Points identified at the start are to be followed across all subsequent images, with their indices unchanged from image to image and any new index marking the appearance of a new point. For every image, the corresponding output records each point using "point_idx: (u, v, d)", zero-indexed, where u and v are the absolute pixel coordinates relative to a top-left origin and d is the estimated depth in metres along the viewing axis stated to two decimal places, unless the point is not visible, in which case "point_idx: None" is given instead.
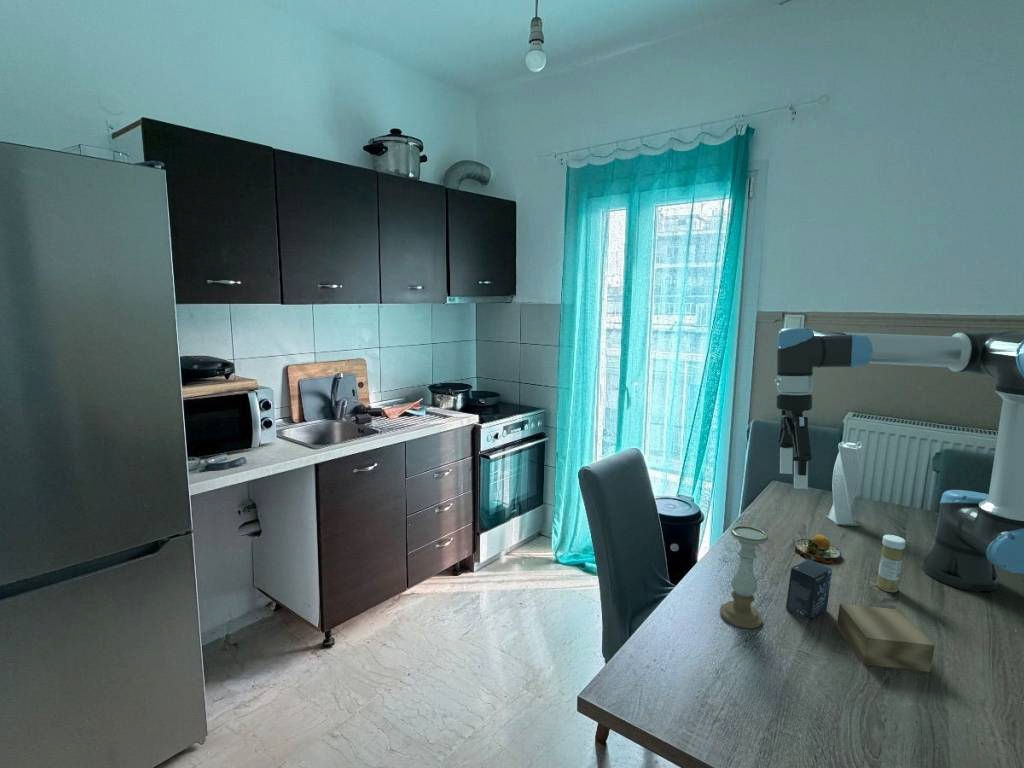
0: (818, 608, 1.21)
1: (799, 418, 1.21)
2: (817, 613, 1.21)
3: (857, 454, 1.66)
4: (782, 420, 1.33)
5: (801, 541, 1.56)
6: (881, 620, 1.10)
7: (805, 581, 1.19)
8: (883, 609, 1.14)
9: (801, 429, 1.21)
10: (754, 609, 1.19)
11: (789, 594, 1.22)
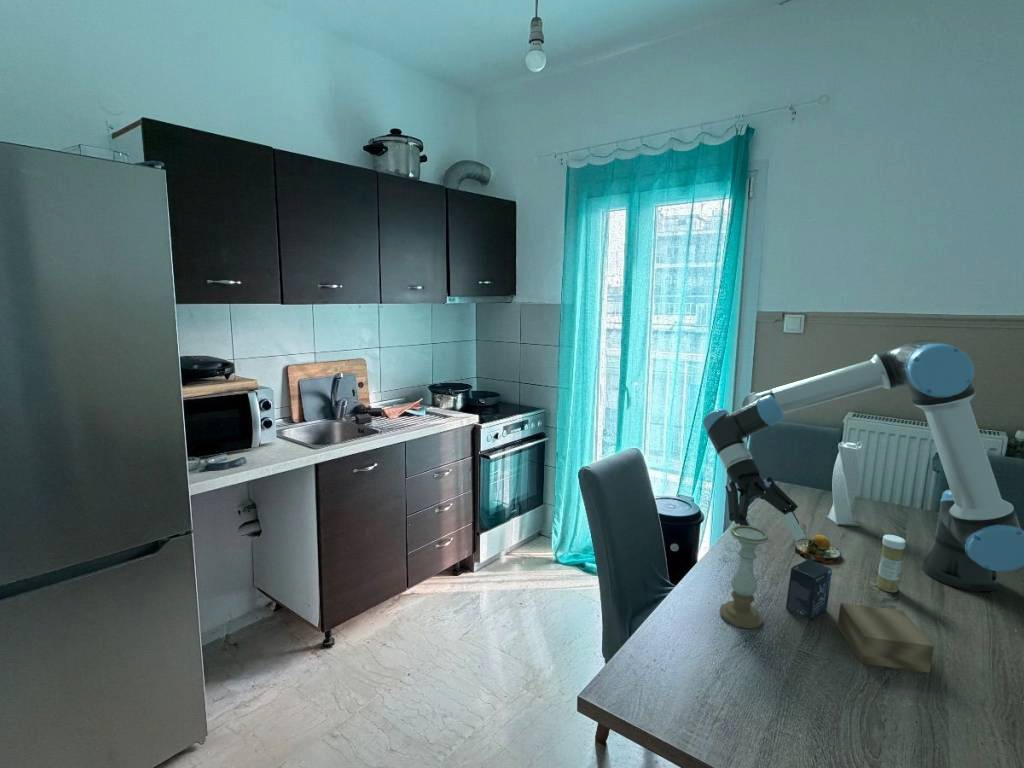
0: (818, 608, 1.21)
1: (727, 485, 1.36)
2: (817, 613, 1.21)
3: (857, 454, 1.66)
4: None
5: (801, 541, 1.56)
6: (881, 620, 1.10)
7: (805, 581, 1.19)
8: (884, 609, 1.14)
9: (730, 494, 1.34)
10: (754, 609, 1.19)
11: (789, 594, 1.22)
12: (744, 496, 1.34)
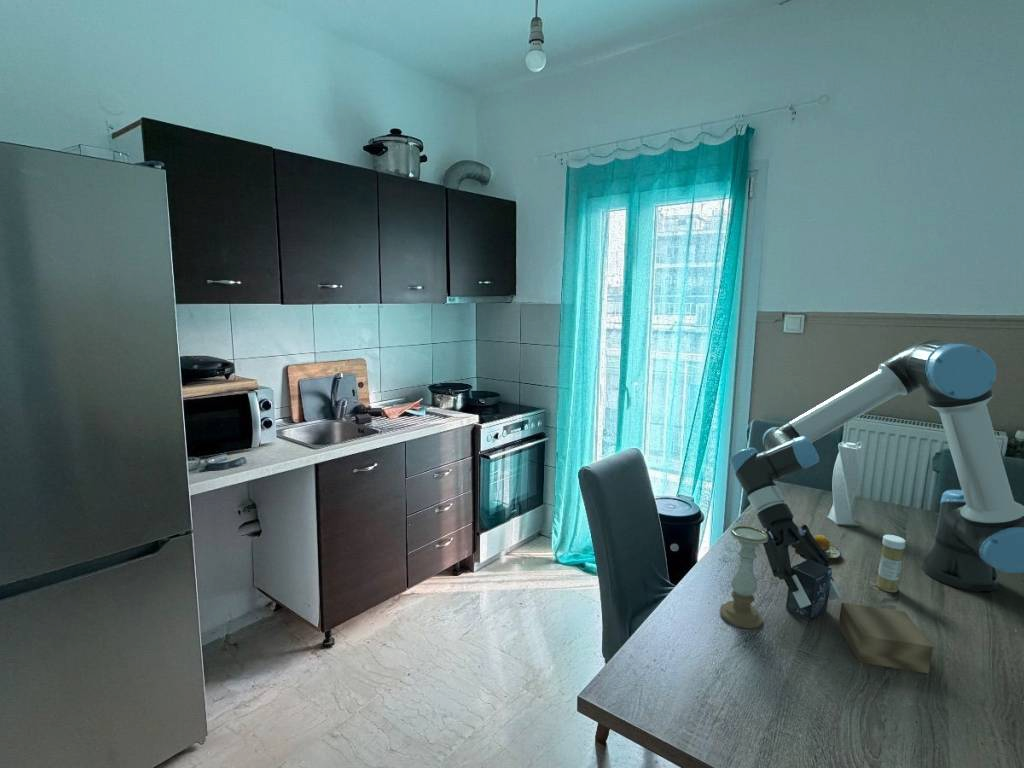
0: (818, 608, 1.21)
1: None
2: (817, 613, 1.21)
3: (857, 454, 1.66)
4: None
5: None
6: (881, 620, 1.10)
7: (805, 581, 1.19)
8: (886, 610, 1.14)
9: (767, 545, 1.25)
10: (754, 609, 1.19)
11: (789, 594, 1.22)
12: (782, 546, 1.25)
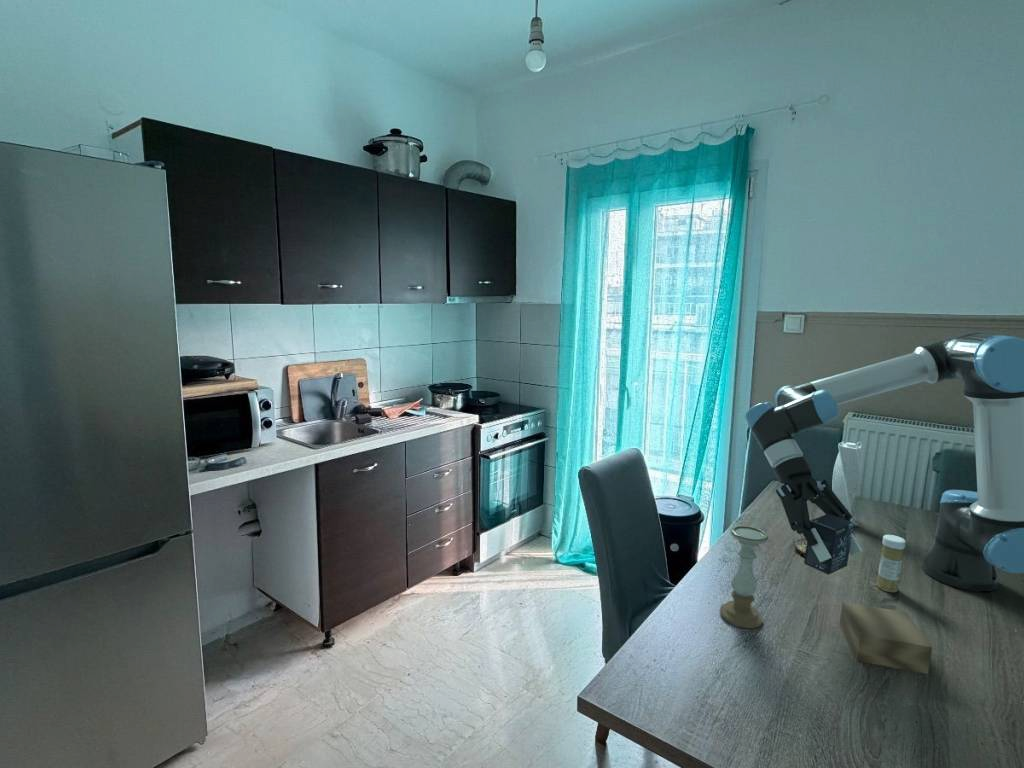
0: (838, 563, 1.15)
1: (778, 489, 1.21)
2: (837, 568, 1.16)
3: (857, 454, 1.66)
4: None
5: (801, 541, 1.56)
6: (881, 620, 1.10)
7: (824, 534, 1.14)
8: (887, 610, 1.14)
9: (784, 499, 1.20)
10: (754, 609, 1.19)
11: (808, 549, 1.17)
12: (800, 500, 1.20)
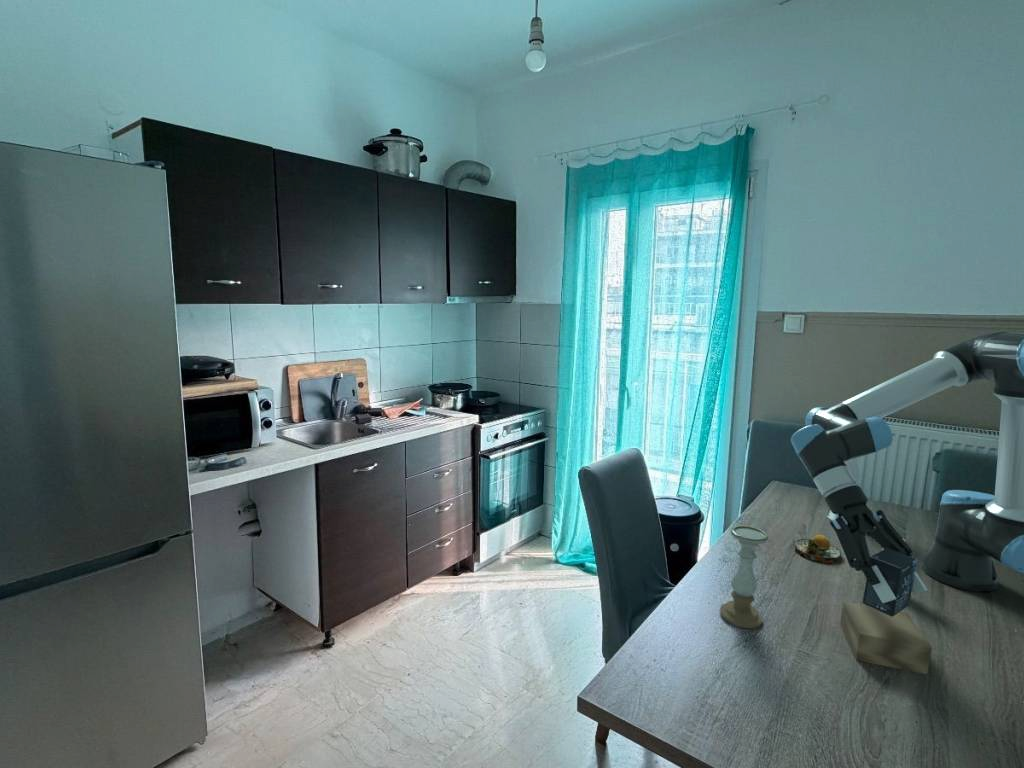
0: (901, 604, 1.06)
1: (832, 521, 1.12)
2: (900, 609, 1.06)
3: None
4: None
5: (801, 541, 1.56)
6: (881, 620, 1.10)
7: (887, 572, 1.04)
8: None
9: (840, 532, 1.10)
10: (754, 609, 1.19)
11: (867, 587, 1.08)
12: (857, 534, 1.10)
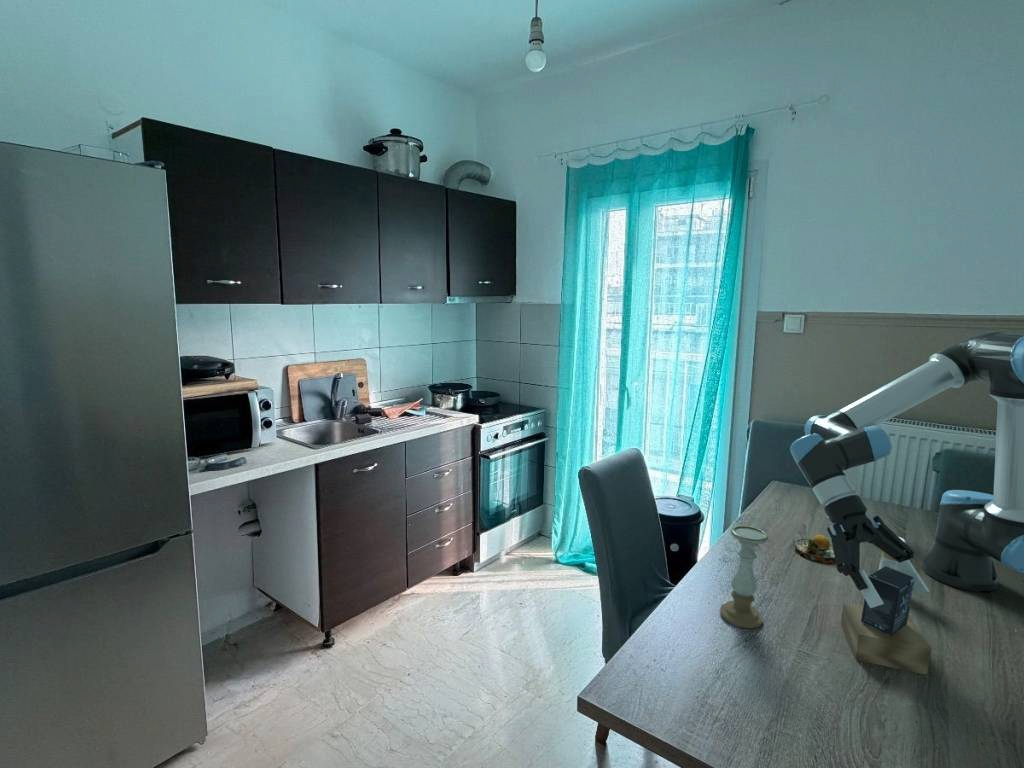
0: (899, 622, 1.06)
1: (829, 527, 1.13)
2: (898, 628, 1.07)
3: None
4: None
5: (801, 541, 1.56)
6: None
7: (886, 592, 1.05)
8: None
9: (835, 538, 1.11)
10: (754, 609, 1.19)
11: (865, 606, 1.08)
12: (852, 541, 1.11)
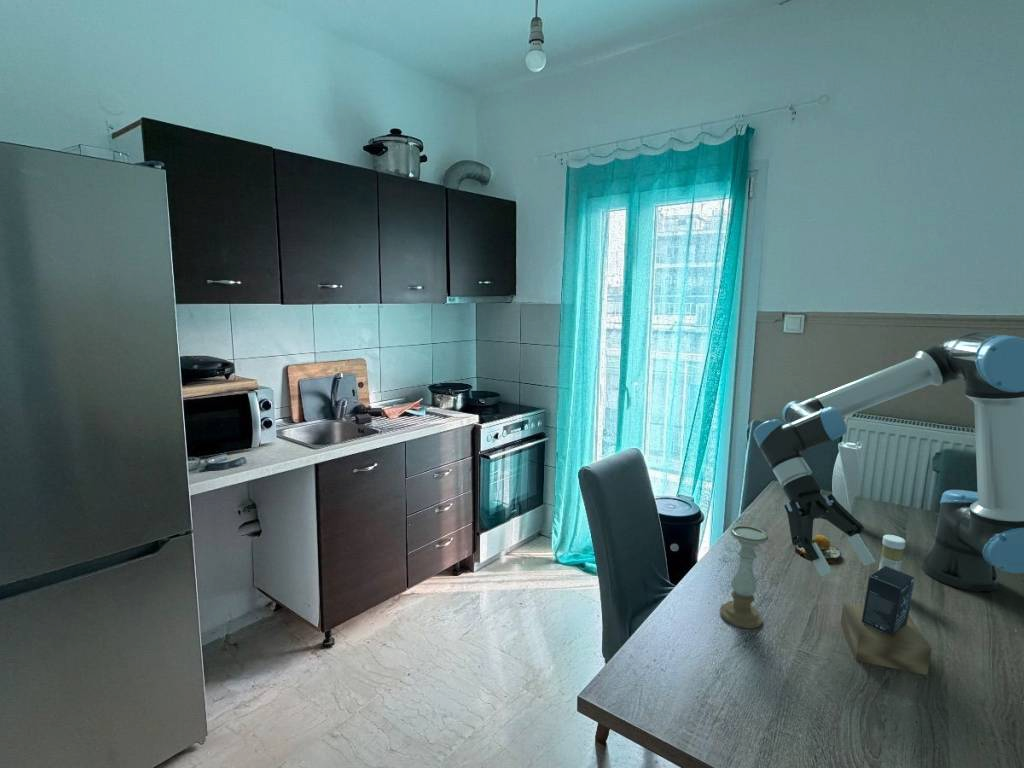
0: (900, 622, 1.06)
1: (786, 504, 1.22)
2: (899, 628, 1.07)
3: (857, 454, 1.66)
4: None
5: None
6: None
7: (887, 592, 1.05)
8: None
9: (791, 514, 1.21)
10: (754, 609, 1.19)
11: (866, 606, 1.08)
12: (806, 517, 1.20)
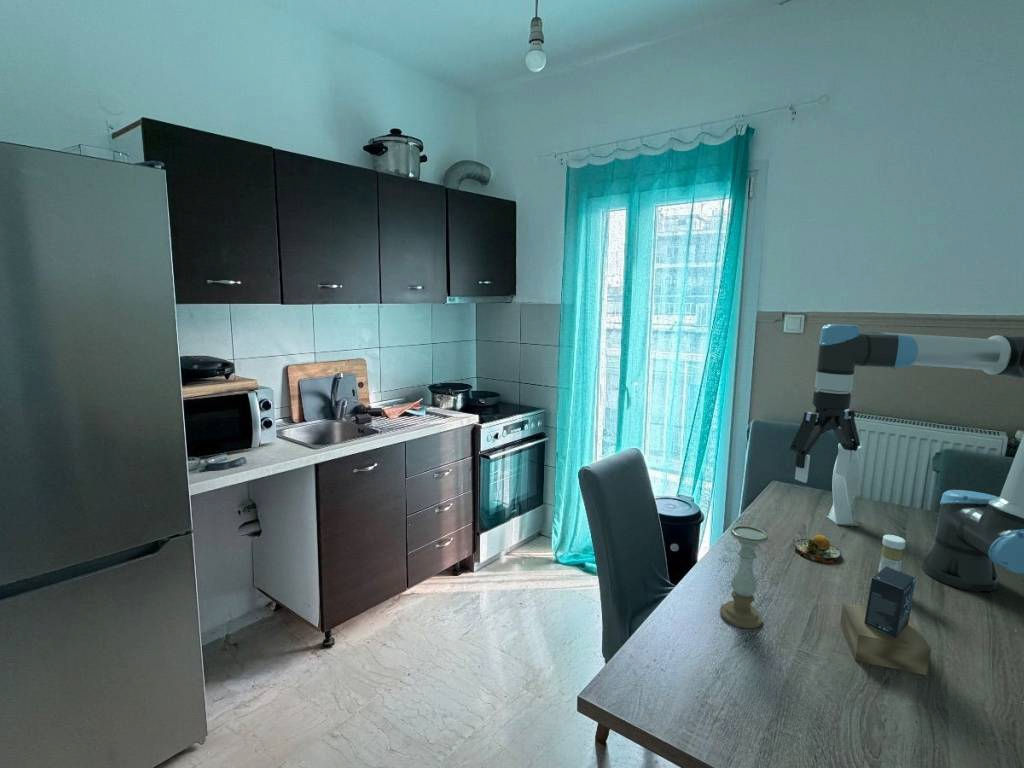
0: (902, 623, 1.06)
1: (807, 413, 1.23)
2: (901, 628, 1.06)
3: (857, 454, 1.66)
4: None
5: (801, 541, 1.56)
6: None
7: (890, 593, 1.04)
8: None
9: (805, 423, 1.23)
10: (754, 609, 1.19)
11: (869, 608, 1.08)
12: (817, 429, 1.24)
